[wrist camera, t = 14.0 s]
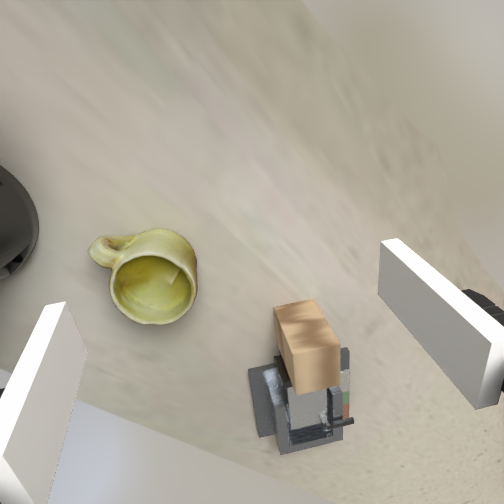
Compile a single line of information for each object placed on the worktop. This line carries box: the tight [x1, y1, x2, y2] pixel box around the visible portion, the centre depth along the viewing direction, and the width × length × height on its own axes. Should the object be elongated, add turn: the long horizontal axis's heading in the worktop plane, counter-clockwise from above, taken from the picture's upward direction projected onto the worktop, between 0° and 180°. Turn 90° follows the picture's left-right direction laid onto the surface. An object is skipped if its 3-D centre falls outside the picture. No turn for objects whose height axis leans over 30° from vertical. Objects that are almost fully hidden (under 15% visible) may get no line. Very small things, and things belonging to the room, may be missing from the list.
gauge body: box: [248, 348, 350, 455], centre depth 62 cm, size 16×15×5 cm
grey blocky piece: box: [274, 355, 354, 430], centre depth 60 cm, size 11×13×5 cm
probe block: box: [274, 299, 340, 395], centre depth 53 cm, size 6×7×10 cm
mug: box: [88, 229, 197, 325], centre depth 45 cm, size 12×10×10 cm
